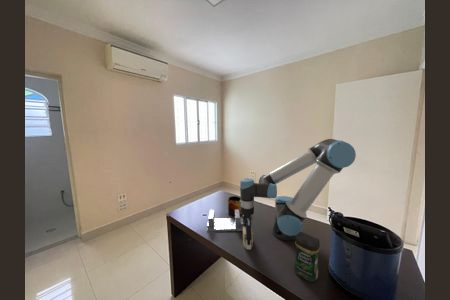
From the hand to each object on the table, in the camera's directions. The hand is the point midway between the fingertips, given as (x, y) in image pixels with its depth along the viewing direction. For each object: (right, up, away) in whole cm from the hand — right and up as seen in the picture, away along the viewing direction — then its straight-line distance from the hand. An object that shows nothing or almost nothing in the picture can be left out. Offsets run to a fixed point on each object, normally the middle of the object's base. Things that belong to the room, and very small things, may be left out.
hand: (247, 242), depth 99 cm
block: (0, 0, 0) cm, 0 cm away
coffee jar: (+24, -3, -21) cm, 32 cm away
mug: (-4, +5, +35) cm, 35 cm away
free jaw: (-2, +4, +17) cm, 18 cm away
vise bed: (-12, +2, +18) cm, 22 cm away
